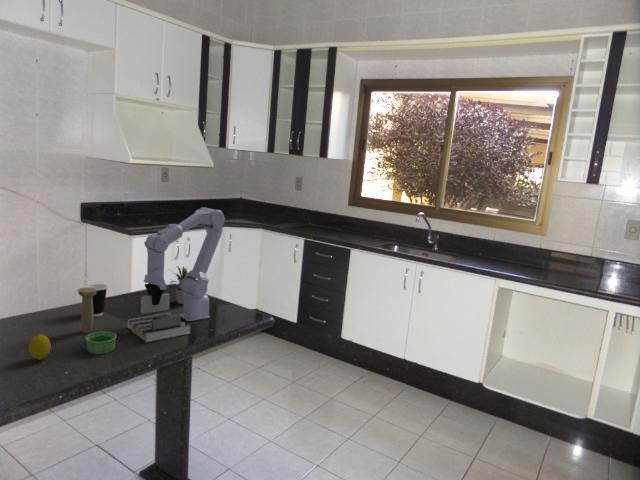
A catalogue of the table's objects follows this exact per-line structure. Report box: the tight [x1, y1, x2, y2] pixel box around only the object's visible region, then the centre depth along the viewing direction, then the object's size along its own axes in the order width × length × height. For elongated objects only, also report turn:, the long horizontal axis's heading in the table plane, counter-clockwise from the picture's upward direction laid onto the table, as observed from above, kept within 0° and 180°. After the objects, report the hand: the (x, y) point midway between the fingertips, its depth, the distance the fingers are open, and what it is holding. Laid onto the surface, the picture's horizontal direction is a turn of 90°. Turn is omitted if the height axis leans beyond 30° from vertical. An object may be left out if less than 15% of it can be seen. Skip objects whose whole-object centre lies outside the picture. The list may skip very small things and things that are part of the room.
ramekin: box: [84, 331, 117, 355], centre depth 150 cm, size 9×9×4 cm
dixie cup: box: [84, 283, 108, 317], centre depth 179 cm, size 8×8×11 cm
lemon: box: [28, 333, 52, 361], centre depth 139 cm, size 6×6×8 cm
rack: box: [127, 312, 191, 343], centre depth 169 cm, size 16×16×7 cm
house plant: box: [168, 265, 188, 305], centre depth 202 cm, size 14×14×16 cm
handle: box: [77, 287, 97, 334], centre depth 162 cm, size 5×6×15 cm
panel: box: [140, 292, 171, 315], centre depth 171 cm, size 10×2×6 cm, turn 132°
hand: (154, 303), depth 171 cm, fingers closed on panel, 2 cm apart
